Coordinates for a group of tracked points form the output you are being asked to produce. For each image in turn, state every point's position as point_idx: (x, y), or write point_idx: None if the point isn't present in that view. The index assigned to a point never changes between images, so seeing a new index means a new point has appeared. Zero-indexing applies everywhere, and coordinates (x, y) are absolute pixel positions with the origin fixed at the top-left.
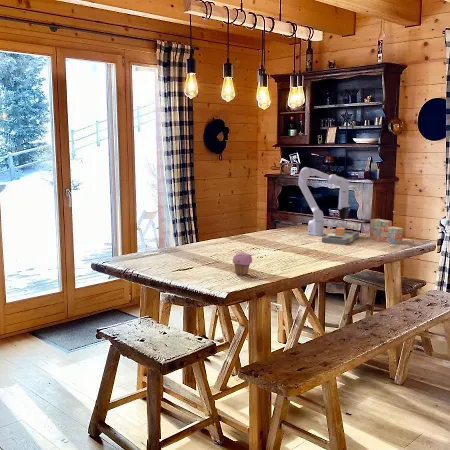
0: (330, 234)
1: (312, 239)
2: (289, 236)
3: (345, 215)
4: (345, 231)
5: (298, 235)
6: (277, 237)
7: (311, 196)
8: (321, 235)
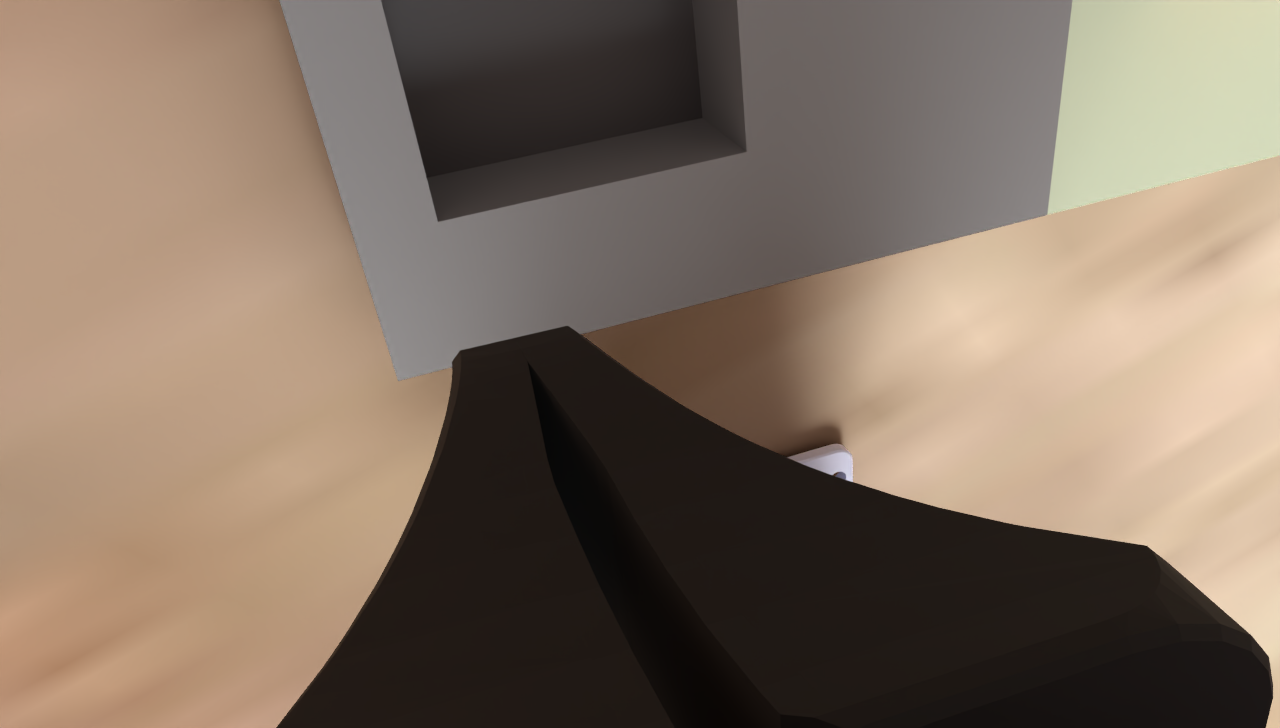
0: (1221, 123)
1: (1257, 336)
2: None
3: (479, 450)
4: (399, 79)
5: None
6: None
7: None
8: (842, 445)
